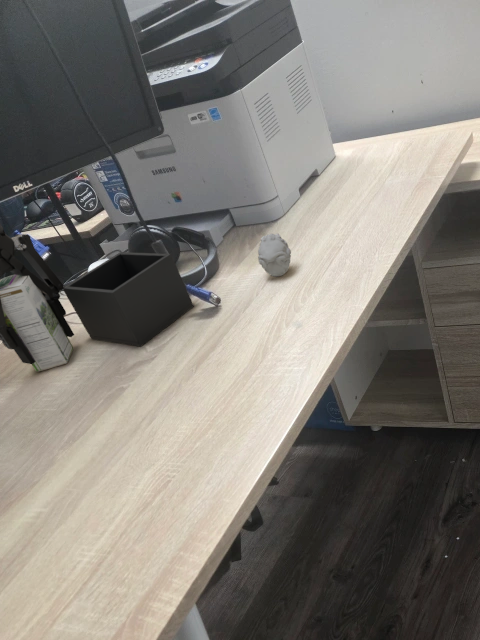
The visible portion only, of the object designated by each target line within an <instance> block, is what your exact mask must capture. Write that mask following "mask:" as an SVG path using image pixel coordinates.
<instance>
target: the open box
mask: <svg viewBox="0 0 480 640" xmlns="http://www.w3.org/2000/svg"><path fill="white" fill-rule="evenodd" d="M62 291H63V292H64V294H65V296H66V298H67V299H68V301H69V303H70V305H71V306H72V308H73V310H74V312H75V313H76V315H77V317H78V318H79V320H80V322H81V324H82V325H83V327H84V329H85V331H86V333H87V334H88V336H89V339H91V340H93V341H100V342H107V343H113V344H120V345H127V346H133V347H140V348H141V347H143V346H144V345H145V344H146V343H148V342H149V341H151V339H153V338H154V337H156V336H157V335H158V334H160V333H161V332H162V331H164V330H165V329H166V328H167V327H169V326H170V325H171V324H174V322H176V321H177V320H179V318H181V317H182V316H183V315H185V314H186V313H187V312H189V311H190V310H191V309H193V308H194V307H195V306H194V303H193V301H192V299H191V296H190V294H189V292H188V289H187V287H186V285H185V283H184V280H183V278H182V275H181V273H180V272H179V269H178V266H177V265H176V262H175V260H174V258H173V255H172V254H171V253H153V252H129V251H128V252H127V251H124V252H123V251H120V252H118V253H116V254H115V255H113V256H112V257H110V258H108V259H107V260H105V261H104V262H102V263H101V264H99V265H97V266H96V267H94V268H92V269H91V270H89V271H87V272H85V273H84V274H83V275H80V277H78V278H77V279H75V280H73V281H72V282H70V283H69V284H67V285H66V286H63V288H62Z"/></svg>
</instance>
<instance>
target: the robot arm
mask: <svg viewBox="0 0 480 640" xmlns="http://www.w3.org/2000/svg"><path fill="white" fill-rule="evenodd" d="M15 248H16V249H17V250H18V251H19V252H20V253H21V254H22V256H23V257H24V258H25V259H26V261H27V262H28V264H29V265H30V266H31V267H32V268H33V269H34V271H35V273H37V274H38V276H39V277H40V278H39V277H38V276H37V275H36V274H34V273H33V272H32V271H30V270H29V269H28V268H27V267H26V266H25V264H23V262H21V261H20V260H19V259H17V258H16V256H15ZM10 272H11V273H13V275H21V276H28V275H29V277H30V278H31V280H32V282H33V283H34V284H35V285H36V286H37V287H38V288H39V289H40V291H41V292H42V294H43V296H44V297H45V299H46V301H47V302H48V304H49V306H50V308H51V309H52V311H53V313H54V314H55V316H56V318H57V320H58V321H59V323H60V325H61V327H62V328H63V330H64V332H65V333H66V335H67V337H68V338H72V337H74V336H75V333H74V331H73V330H72V328H71V326H70V324H69V323H68V321H67V320H66V318H65V316H66V315H67V312H66V309H65V308H64V306H63V304H62V302H61V301H60V298H61V294H60V292H61V291H63V289H62V288H64V284H63V282H62V281H61V280H60V279H59V277H58V276H57V275H56V273H54V271H53V270H52V268H51V267H50V266H49V265H48V263H47V262H46V261H45V259H44V258H43V257H42V256H41V254H40V253H39V252H38V251H37V249H36V248H35V246H34V244H33V241H32V238H31V236H30V235H29V234H27V233H25V234H22V233H21V234H20V233H19V234H17V233H16V234H15V235H14V236H13V237H10V236H9V235H7V233H6V232H5V230H4V227H3V225H2V223H0V278H2V277H3V276H4V275H5V274H7V273H10ZM0 341H1V342H2V344H3V345H4V347H5V348H7V349H8V350H13V351H14V352H15V353H16V355H17V356H18V358H19V359H20V361H21V363H22V364H28V365H32V364H33V363H35V361H34V359H33V358H32V356H31V355H30V353H29V352H28V350H27V348H26V347H25V345H24V344H23V342H22V341H21V339H20V338H19V336H18V335H17V333H16V332H15V330H14V329H13V327H8V326H7V325H6V322H5V318H4V313H3V308H2V304H1V299H0Z"/></svg>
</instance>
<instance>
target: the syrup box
mask: <svg viewBox="0 0 480 640" xmlns="http://www.w3.org/2000/svg"><path fill="white" fill-rule="evenodd" d="M0 299H1V304H2V308H3V313H4V318H5V322H6V326H7V327H13V329H14V330H15V332H16V333H17V335H18V336H19V338H20V339H21V341H22V342H23V344H24V345H25V347H26V348H27V350H28V352H29V353H30V355H31V356H32V358H33V359H34V361H35V363H33V364H31V366H32V367H33V369H34V371H35V372H38V373H39V372H42V371H45V370H49V369H52V368H56V367H59V366H63V365H65V364H68V363H69V361H70V358H71V356H72V354H73V350H74V346H73V344H72V342H71V340H70V339H69V337H67V335H66V333H65V332H64V330H63V328H62V327H61V325H60V323H59V321H58V320H57V318H56V316H55V314H54V313H53V311H52V309H51V308H50V306H49V304H48V302H47V301H46V300H47V299H46V298H45V297H44V296H43V294H42V292H41V291H40V289H39V288H38V287H37V286H36V285H35V284H34V283H33V282H32V280H31V278H30V277H29V275H28V276H21V275H15V274H11V275H9V276H5V277H3V278H0Z"/></svg>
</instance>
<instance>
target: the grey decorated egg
mask: <svg viewBox="0 0 480 640" xmlns="http://www.w3.org/2000/svg"><path fill="white" fill-rule="evenodd" d="M257 255H258V256H257V257H258V258H257V260H258V264H259V265H261V268H262V269H263V270H264V271H265V272H266V273H267V274H268V275H270V276H271V277H282V276H283V275H285V274H287V272H288V270H289V268H290V265H291V257H292V251H291V249H290V248H289V245H288V242H287V241H286V240H285V239H284V238H282V236H281V235H280V233H275V234H274V233H269V234H266V235H263V236H262V237H260V243H259V247H258V249H257Z"/></svg>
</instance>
